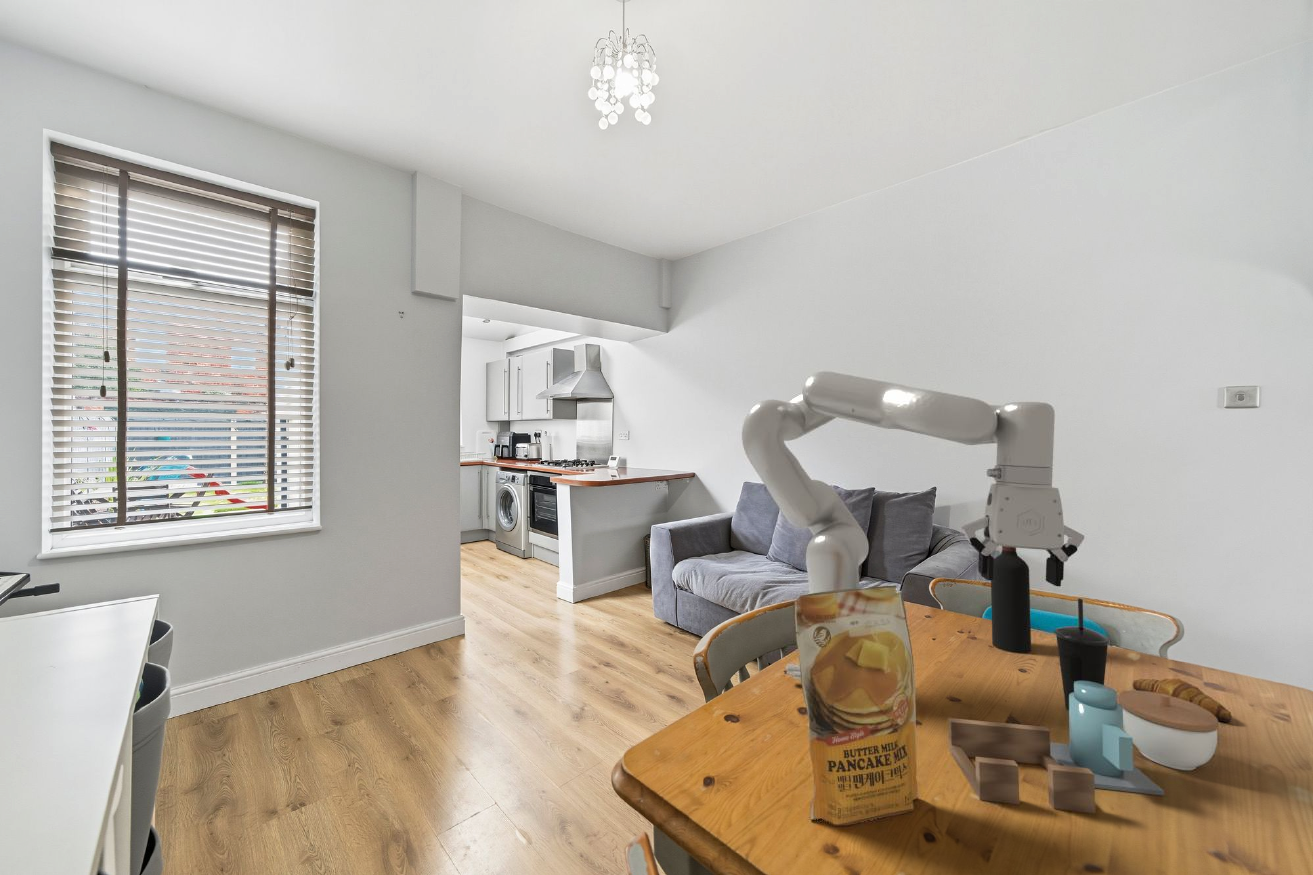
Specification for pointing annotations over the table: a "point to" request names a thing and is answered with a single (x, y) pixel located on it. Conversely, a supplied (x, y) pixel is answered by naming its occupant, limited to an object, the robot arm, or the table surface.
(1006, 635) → the wine bottle
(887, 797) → the pancake mix bag
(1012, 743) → the cradle
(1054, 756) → the coaster
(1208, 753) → the lidded jar
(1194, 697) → the croissant
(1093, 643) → the drinking cup
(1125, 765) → the jug
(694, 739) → the table surface
